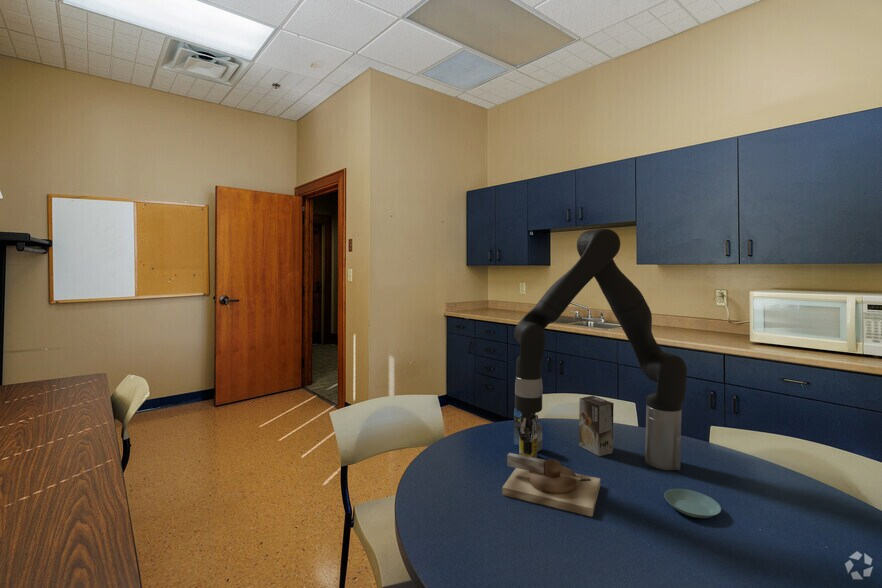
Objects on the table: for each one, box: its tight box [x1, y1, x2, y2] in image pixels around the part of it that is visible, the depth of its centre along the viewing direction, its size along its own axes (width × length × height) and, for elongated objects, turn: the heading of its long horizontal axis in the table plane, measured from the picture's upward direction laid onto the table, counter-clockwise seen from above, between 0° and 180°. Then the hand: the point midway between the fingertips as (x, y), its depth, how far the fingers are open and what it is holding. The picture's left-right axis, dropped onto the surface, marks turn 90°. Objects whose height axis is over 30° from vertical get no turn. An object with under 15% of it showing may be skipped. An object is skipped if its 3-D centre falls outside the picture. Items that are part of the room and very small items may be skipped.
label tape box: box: [513, 408, 543, 453], centre depth 139 cm, size 9×4×12 cm, turn 43°
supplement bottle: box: [518, 433, 538, 458], centre depth 132 cm, size 5×5×10 cm
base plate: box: [501, 468, 601, 518], centre depth 112 cm, size 22×16×2 cm
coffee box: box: [578, 395, 615, 457], centre depth 137 cm, size 9×6×16 cm
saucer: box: [663, 488, 722, 519], centre depth 103 cm, size 12×12×2 cm
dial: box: [506, 452, 581, 493], centre depth 113 cm, size 19×12×5 cm, turn 63°
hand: (527, 453), depth 120 cm, fingers closed
